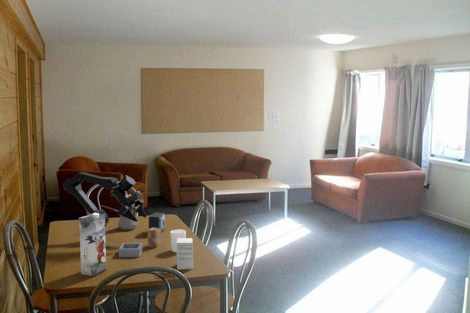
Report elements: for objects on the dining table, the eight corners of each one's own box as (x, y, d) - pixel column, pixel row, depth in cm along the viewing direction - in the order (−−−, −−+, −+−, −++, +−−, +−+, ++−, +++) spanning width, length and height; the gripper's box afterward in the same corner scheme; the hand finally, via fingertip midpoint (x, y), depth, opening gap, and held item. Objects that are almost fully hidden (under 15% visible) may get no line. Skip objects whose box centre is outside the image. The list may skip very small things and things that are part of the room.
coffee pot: (136, 225, 303) (136, 201, 301) (138, 230, 292) (137, 205, 290) (100, 227, 297) (99, 202, 295) (100, 232, 286) (99, 207, 284)
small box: (159, 235, 282) (158, 216, 281) (148, 234, 284) (147, 216, 282) (165, 230, 293) (165, 212, 291) (154, 229, 294) (154, 212, 293)
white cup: (173, 253, 250) (173, 234, 248) (168, 249, 256) (168, 230, 255) (188, 251, 253) (188, 232, 252) (182, 247, 260) (182, 228, 259)
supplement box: (177, 264, 235) (176, 237, 233) (193, 263, 235) (192, 237, 234) (176, 269, 227) (176, 242, 226) (193, 269, 228) (192, 242, 226)
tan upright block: (148, 246, 261) (147, 229, 260) (152, 244, 266) (152, 227, 264) (156, 247, 259) (156, 230, 258) (161, 245, 264) (160, 228, 263)
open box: (118, 257, 244) (118, 249, 244) (122, 250, 254) (122, 243, 253) (139, 257, 244) (139, 249, 244) (142, 250, 254) (142, 242, 254)
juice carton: (77, 275, 220) (75, 214, 216) (92, 267, 229) (90, 209, 226) (94, 277, 217) (92, 216, 213) (109, 270, 226) (107, 211, 223)
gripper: (122, 190, 254) (141, 213, 252) (141, 184, 271) (159, 205, 269) (109, 204, 258) (128, 227, 255) (128, 197, 275) (146, 218, 273)
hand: (141, 219), depth 263 cm, fingers open, 9 cm apart
